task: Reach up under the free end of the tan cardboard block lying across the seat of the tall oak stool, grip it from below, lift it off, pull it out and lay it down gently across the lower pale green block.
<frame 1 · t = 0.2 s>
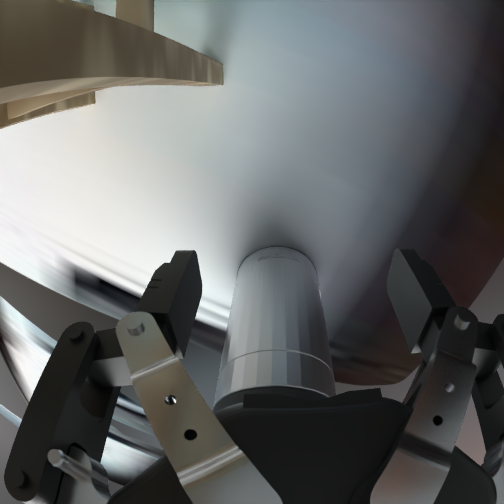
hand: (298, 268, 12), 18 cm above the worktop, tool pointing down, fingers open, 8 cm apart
stool: (141, 39, 21), on the worktop
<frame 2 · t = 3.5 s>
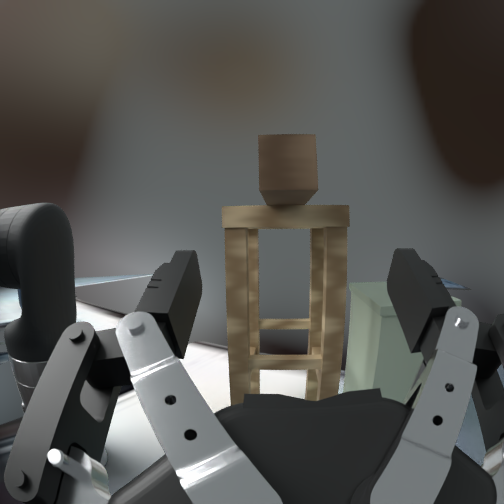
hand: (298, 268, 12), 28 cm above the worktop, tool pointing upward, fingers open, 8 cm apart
stool: (281, 435, 37), on the worktop
tan cardboard block: (285, 208, 31), point 32 cm above the worktop, touching stool
pale green block: (378, 428, 36), on the worktop
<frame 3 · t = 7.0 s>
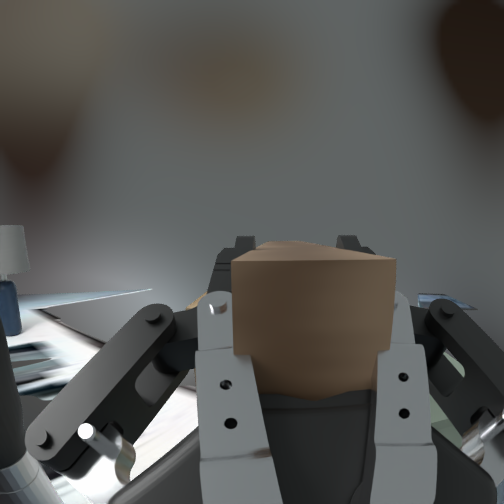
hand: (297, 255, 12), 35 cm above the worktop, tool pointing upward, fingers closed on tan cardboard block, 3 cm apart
lamp: (11, 333, 85), on the worktop
tan cardboard block: (288, 295, 20), point 32 cm above the worktop, touching gripper, stool
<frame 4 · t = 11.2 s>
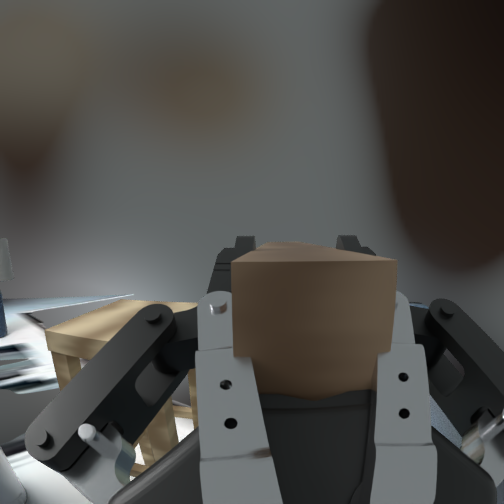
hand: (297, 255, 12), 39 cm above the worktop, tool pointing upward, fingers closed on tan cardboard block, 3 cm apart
tan cardboard block: (288, 296, 20), point 36 cm above the worktop, touching gripper
when the fingers open (26 cm above the worktop, at t = 15.3 s): tan cardboard block stays where it is, resting on pale green block.
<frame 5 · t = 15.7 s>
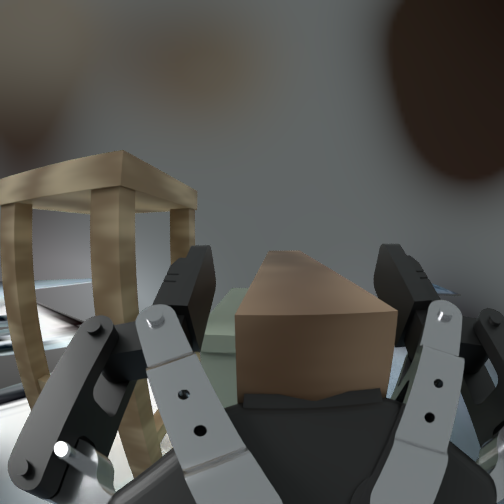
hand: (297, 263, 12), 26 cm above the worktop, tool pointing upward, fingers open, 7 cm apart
stool: (147, 479, 24), on the worktop
tan cardboard block: (289, 311, 20), point 22 cm above the worktop, touching pale green block
pale green block: (279, 494, 23), on the worktop
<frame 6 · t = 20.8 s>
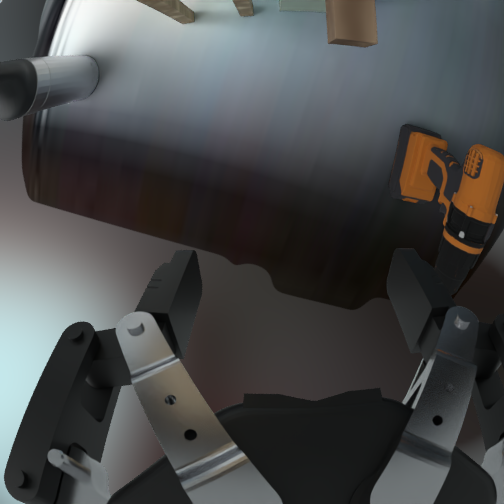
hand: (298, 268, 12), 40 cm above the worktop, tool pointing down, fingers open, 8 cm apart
power drill: (407, 172, 48), on the worktop
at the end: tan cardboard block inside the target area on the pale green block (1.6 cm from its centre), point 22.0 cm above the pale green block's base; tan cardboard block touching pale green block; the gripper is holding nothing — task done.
